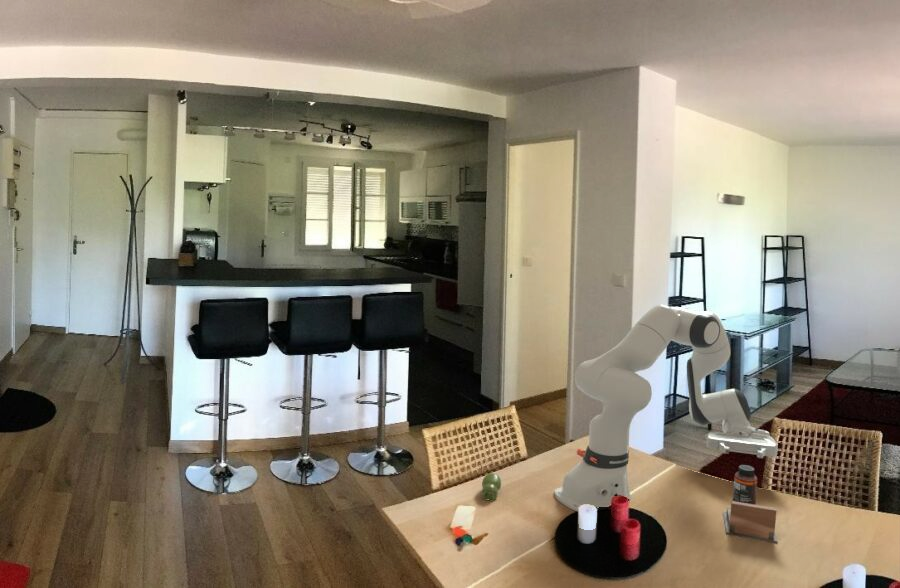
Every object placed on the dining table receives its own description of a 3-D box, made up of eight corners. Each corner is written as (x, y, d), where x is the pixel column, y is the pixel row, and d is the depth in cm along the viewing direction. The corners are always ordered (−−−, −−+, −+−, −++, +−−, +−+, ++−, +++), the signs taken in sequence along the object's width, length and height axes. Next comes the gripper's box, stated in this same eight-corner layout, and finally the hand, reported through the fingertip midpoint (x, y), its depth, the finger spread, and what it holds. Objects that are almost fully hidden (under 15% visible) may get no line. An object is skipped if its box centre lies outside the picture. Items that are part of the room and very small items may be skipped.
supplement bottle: (750, 500, 180) (753, 463, 179) (758, 510, 174) (762, 472, 173) (729, 499, 181) (732, 462, 179) (736, 509, 175) (739, 471, 173)
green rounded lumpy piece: (502, 470, 185) (497, 490, 175) (502, 486, 186) (497, 506, 177) (484, 468, 186) (478, 488, 176) (484, 483, 187) (478, 504, 178)
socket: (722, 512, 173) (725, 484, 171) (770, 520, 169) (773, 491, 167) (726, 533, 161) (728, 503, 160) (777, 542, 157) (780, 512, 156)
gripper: (705, 424, 203) (707, 439, 191) (774, 432, 197) (781, 448, 184) (704, 442, 204) (705, 458, 192) (772, 450, 198) (779, 468, 185)
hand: (743, 453), depth 188 cm, fingers open, 8 cm apart
